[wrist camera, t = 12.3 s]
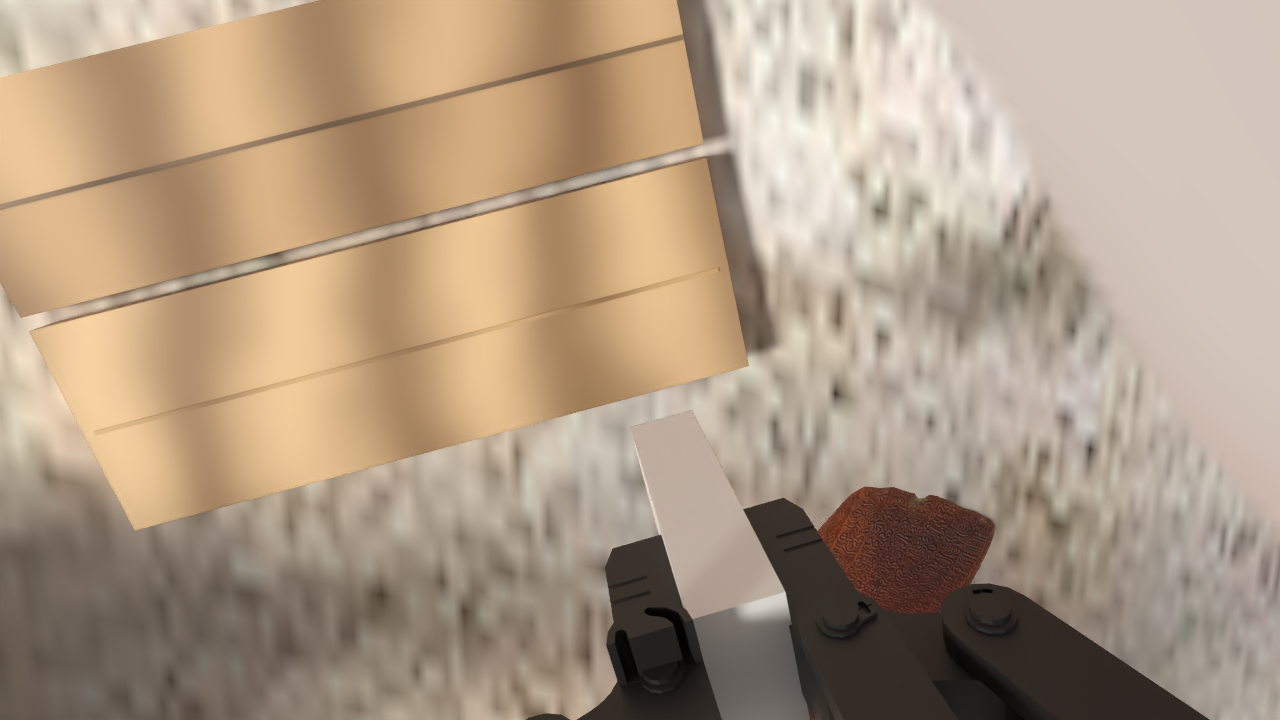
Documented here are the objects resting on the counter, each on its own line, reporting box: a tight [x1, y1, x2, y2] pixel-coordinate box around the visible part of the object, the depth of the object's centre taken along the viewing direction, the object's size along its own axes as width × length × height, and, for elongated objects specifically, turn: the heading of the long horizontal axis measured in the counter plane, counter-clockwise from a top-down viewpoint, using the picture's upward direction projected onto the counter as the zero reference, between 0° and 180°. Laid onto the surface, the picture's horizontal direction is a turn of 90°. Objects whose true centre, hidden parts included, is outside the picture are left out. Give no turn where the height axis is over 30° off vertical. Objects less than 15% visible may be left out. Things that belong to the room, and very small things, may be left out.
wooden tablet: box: [807, 487, 994, 720], centre depth 37 cm, size 27×10×2 cm, turn 156°
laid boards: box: [0, 0, 704, 318], centre depth 24 cm, size 24×7×1 cm, turn 103°
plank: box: [29, 157, 749, 531], centre depth 26 cm, size 24×8×1 cm, turn 103°
